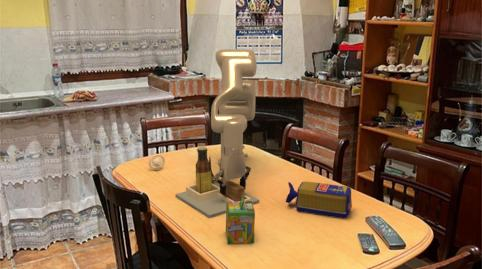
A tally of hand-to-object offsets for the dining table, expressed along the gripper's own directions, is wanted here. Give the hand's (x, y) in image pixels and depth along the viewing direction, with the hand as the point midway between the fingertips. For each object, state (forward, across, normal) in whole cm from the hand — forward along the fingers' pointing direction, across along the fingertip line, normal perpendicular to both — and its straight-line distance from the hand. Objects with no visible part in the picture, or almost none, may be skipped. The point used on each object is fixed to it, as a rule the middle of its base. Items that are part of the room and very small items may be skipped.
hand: (233, 191), depth 185 cm
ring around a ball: (+5, +7, -50) cm, 51 cm away
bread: (+5, -22, +26) cm, 34 cm away
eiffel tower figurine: (+5, -5, -24) cm, 25 cm away
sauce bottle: (+4, +7, -10) cm, 13 cm away
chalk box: (+5, +16, +26) cm, 31 cm away
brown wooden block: (+3, 0, 0) cm, 3 cm away
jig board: (+4, +4, -5) cm, 8 cm away
